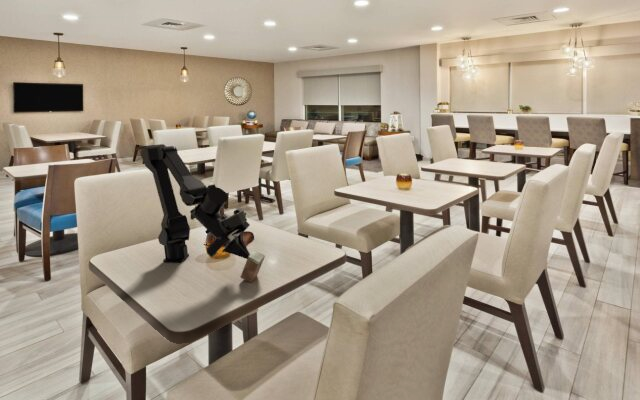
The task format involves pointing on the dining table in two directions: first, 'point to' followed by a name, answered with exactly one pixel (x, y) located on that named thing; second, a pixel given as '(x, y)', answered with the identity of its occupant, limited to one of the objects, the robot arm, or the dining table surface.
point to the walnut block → (252, 266)
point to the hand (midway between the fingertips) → (249, 257)
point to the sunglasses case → (247, 237)
